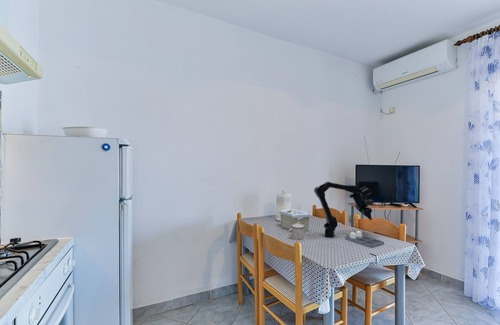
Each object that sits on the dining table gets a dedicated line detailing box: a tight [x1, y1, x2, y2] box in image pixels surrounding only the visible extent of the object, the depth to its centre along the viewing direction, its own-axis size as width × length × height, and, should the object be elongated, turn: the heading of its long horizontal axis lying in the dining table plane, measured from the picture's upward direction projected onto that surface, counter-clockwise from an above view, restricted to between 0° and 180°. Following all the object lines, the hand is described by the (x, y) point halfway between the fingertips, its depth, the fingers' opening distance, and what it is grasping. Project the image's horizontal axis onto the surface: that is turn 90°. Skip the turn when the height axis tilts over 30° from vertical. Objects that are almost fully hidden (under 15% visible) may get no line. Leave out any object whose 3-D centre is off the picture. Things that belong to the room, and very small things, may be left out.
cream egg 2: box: [355, 230, 363, 238], centre depth 176 cm, size 4×4×6 cm
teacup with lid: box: [288, 222, 305, 240], centre depth 181 cm, size 12×9×12 cm
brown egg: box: [345, 228, 354, 236], centre depth 185 cm, size 4×4×6 cm
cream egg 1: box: [350, 231, 356, 239], centre depth 173 cm, size 4×4×6 cm
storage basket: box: [279, 208, 311, 232], centre depth 207 cm, size 24×16×15 cm
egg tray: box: [345, 234, 385, 249], centre depth 169 cm, size 14×20×3 cm
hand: (368, 218), depth 183 cm, fingers open, 9 cm apart
